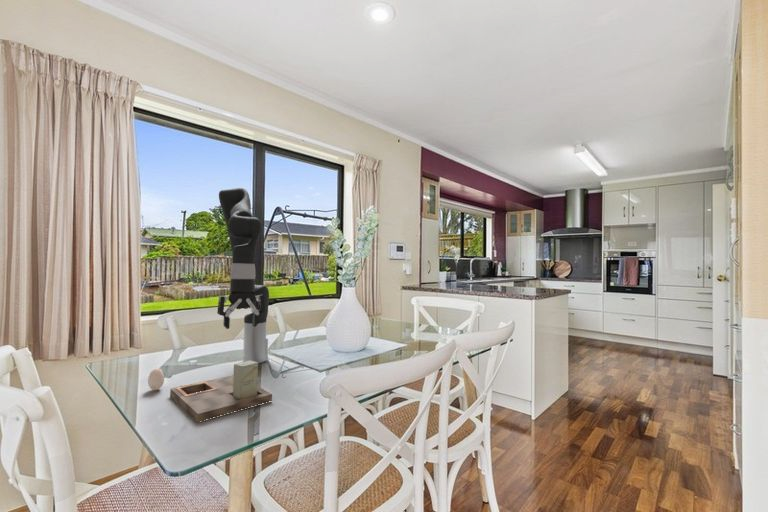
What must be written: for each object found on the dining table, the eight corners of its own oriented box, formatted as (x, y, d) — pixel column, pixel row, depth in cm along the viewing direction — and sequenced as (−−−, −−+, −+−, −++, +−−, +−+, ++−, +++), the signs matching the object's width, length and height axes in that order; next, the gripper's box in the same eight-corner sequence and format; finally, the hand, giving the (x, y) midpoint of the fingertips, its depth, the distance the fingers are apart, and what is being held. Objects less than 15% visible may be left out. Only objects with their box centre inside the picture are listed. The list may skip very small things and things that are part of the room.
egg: (145, 393, 121) (145, 370, 121) (151, 388, 126) (151, 366, 126) (160, 392, 122) (161, 370, 122) (166, 387, 127) (166, 365, 127)
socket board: (237, 381, 135) (237, 373, 135) (271, 402, 116) (272, 393, 116) (170, 396, 119) (170, 387, 119) (197, 423, 101) (197, 413, 101)
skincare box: (241, 406, 112) (242, 366, 112) (232, 403, 115) (232, 364, 115) (258, 399, 118) (258, 361, 118) (248, 396, 120) (249, 359, 120)
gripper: (260, 277, 127) (259, 324, 127) (216, 277, 119) (214, 327, 118) (268, 278, 121) (266, 327, 121) (222, 277, 113) (220, 331, 112)
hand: (241, 327), depth 119 cm, fingers open, 8 cm apart
